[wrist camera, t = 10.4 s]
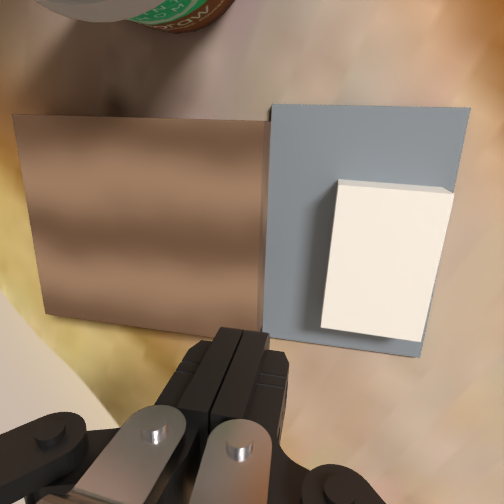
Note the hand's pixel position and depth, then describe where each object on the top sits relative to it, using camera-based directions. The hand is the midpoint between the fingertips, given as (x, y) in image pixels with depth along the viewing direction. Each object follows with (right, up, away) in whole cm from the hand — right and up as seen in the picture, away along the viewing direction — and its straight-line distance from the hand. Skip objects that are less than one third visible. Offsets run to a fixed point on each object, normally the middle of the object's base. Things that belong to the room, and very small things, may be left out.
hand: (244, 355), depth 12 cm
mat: (+7, +4, +13) cm, 15 cm away
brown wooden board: (-7, +5, +15) cm, 18 cm away
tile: (+8, +3, +11) cm, 14 cm away
